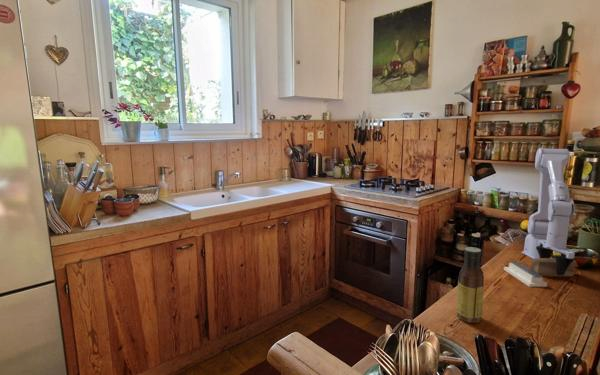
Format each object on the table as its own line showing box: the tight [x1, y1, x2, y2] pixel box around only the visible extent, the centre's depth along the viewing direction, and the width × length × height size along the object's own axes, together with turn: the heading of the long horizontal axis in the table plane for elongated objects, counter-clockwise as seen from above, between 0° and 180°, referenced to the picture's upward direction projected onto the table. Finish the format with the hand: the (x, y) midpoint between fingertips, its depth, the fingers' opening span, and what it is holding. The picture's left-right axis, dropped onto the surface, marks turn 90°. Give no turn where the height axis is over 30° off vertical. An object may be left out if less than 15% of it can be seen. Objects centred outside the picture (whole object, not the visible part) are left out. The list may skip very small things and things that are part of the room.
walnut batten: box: [530, 257, 576, 277], centre depth 123 cm, size 4×13×6 cm, turn 91°
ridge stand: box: [503, 260, 548, 288], centre depth 120 cm, size 14×6×4 cm, turn 1°
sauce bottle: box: [456, 246, 485, 324], centre depth 92 cm, size 7×6×20 cm
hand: (552, 270), depth 123 cm, fingers open, 7 cm apart
